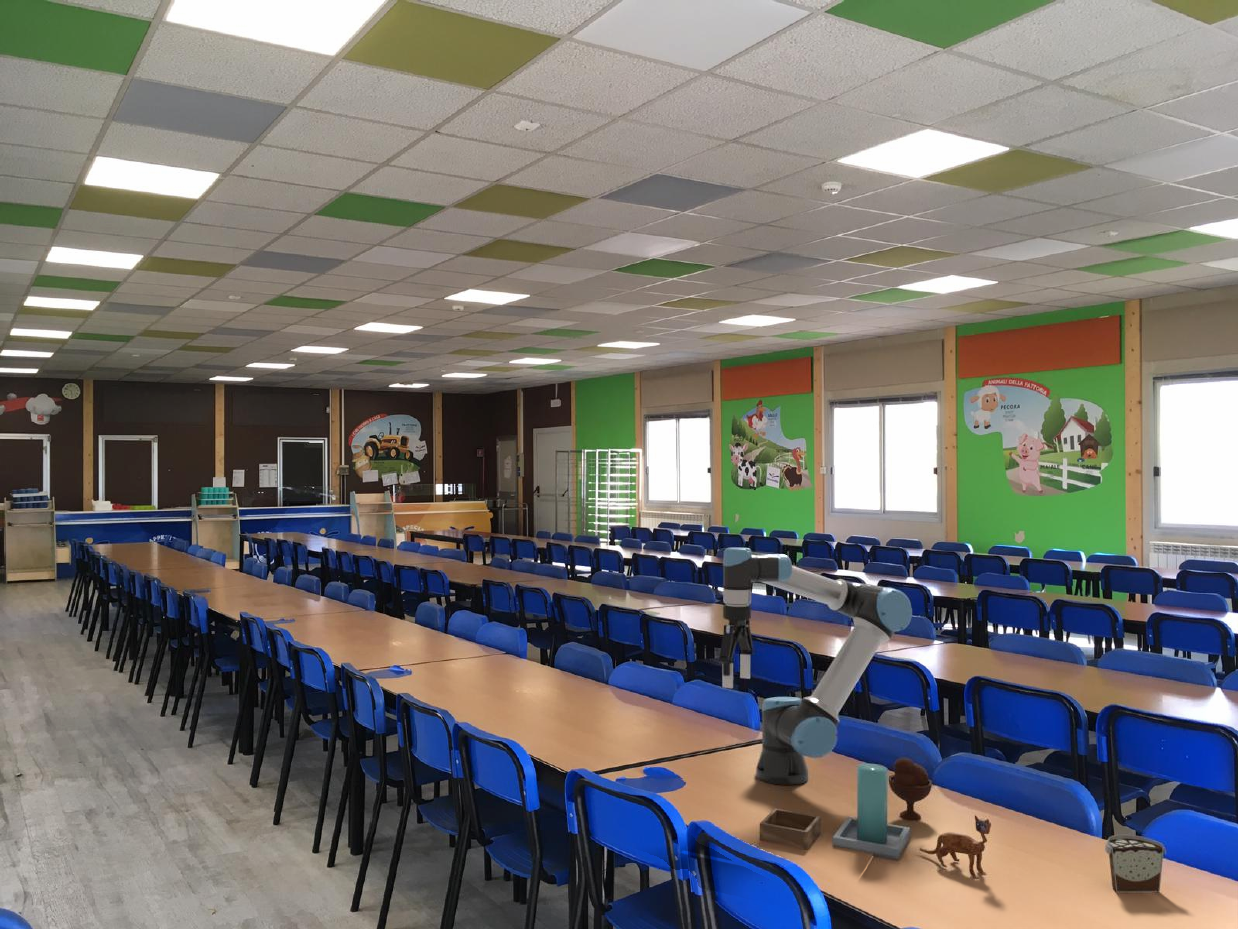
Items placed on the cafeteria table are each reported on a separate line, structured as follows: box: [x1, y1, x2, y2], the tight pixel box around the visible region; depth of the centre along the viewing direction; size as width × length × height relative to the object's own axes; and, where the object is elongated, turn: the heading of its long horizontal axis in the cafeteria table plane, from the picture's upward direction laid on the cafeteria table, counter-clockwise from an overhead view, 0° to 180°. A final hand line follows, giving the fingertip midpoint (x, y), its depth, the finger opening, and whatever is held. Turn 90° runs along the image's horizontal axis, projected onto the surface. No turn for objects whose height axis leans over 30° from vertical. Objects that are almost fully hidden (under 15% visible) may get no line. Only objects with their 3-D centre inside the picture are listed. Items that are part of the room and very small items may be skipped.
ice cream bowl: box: [888, 757, 933, 822], centre depth 236 cm, size 11×11×15 cm
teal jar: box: [856, 763, 889, 844], centre depth 219 cm, size 7×7×17 cm
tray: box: [832, 816, 911, 861], centre depth 219 cm, size 15×15×2 cm
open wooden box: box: [759, 808, 821, 850], centre depth 221 cm, size 12×12×4 cm
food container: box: [1104, 834, 1167, 894], centre depth 196 cm, size 12×6×10 cm, turn 92°
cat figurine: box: [919, 815, 992, 879], centre depth 206 cm, size 18×6×13 cm, turn 40°
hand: (736, 682), depth 248 cm, fingers open, 13 cm apart
